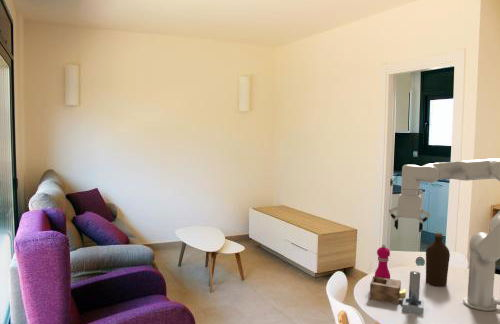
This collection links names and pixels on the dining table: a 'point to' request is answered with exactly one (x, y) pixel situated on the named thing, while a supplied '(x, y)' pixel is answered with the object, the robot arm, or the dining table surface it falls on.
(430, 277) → the olive oil
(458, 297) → the dining table surface
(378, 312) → the dining table surface
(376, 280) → the socket block
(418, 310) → the grey square tray
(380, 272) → the pepper mill
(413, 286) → the grey cylinder
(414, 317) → the dining table surface
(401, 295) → the tan wooden t-shaped piece
